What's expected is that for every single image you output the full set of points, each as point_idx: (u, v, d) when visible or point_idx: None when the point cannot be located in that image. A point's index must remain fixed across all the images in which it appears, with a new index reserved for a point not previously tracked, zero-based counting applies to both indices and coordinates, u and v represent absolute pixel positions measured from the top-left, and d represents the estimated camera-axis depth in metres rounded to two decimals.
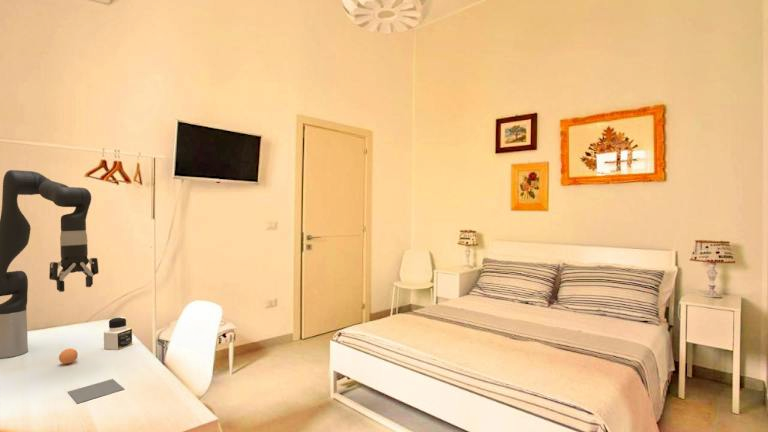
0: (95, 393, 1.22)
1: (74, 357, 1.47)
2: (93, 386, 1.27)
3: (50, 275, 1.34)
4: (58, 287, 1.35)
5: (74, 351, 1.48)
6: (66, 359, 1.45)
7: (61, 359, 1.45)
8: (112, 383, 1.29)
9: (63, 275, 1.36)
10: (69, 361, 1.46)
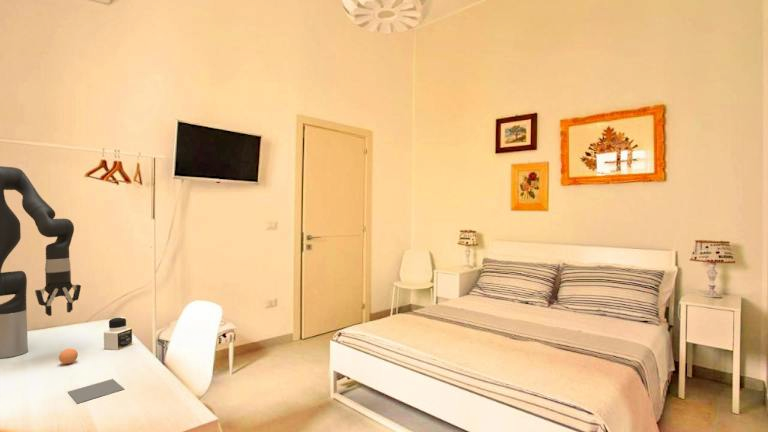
0: (95, 393, 1.22)
1: (74, 357, 1.47)
2: (93, 386, 1.27)
3: None
4: None
5: (74, 351, 1.48)
6: (66, 359, 1.45)
7: (61, 359, 1.45)
8: (112, 383, 1.29)
9: None
10: (69, 361, 1.46)
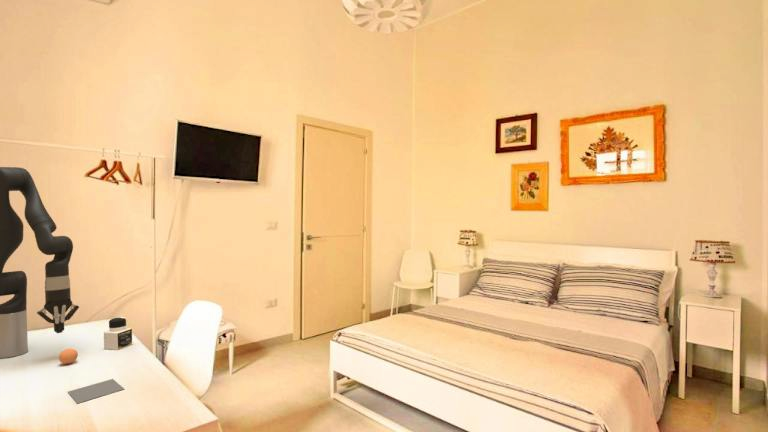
0: (95, 393, 1.22)
1: (74, 357, 1.47)
2: (93, 386, 1.27)
3: None
4: None
5: (74, 351, 1.48)
6: (66, 359, 1.45)
7: (61, 359, 1.45)
8: (112, 383, 1.29)
9: None
10: (69, 361, 1.46)
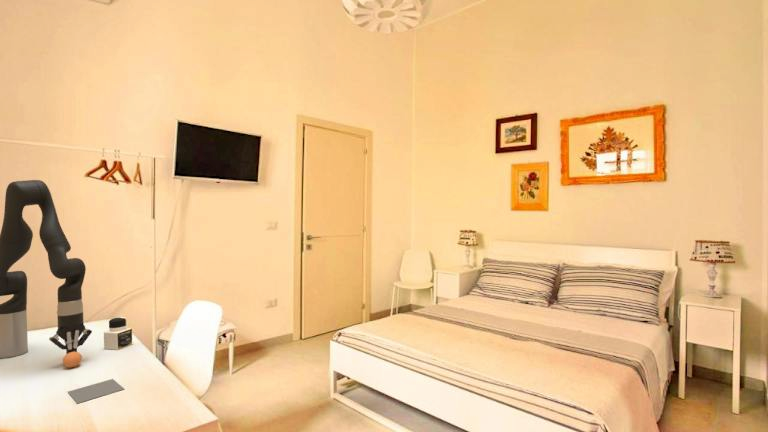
0: (95, 393, 1.22)
1: None
2: (93, 386, 1.27)
3: None
4: None
5: (78, 363, 1.44)
6: None
7: (64, 364, 1.43)
8: (112, 383, 1.29)
9: None
10: None
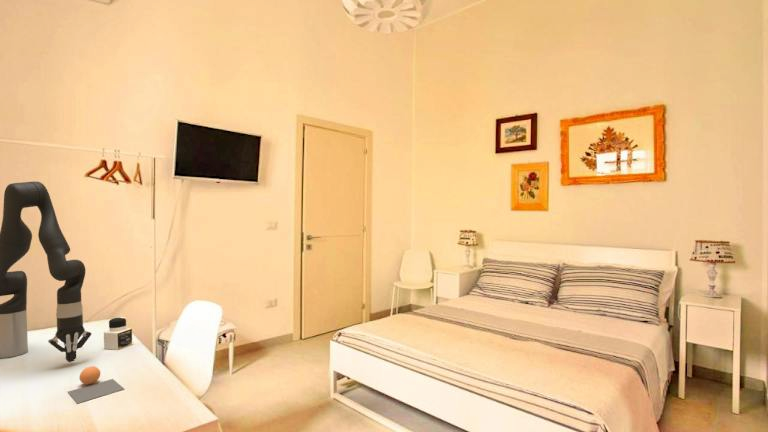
0: (95, 393, 1.22)
1: None
2: (93, 386, 1.27)
3: None
4: None
5: None
6: None
7: (80, 374, 1.28)
8: (112, 383, 1.29)
9: None
10: (88, 367, 1.30)
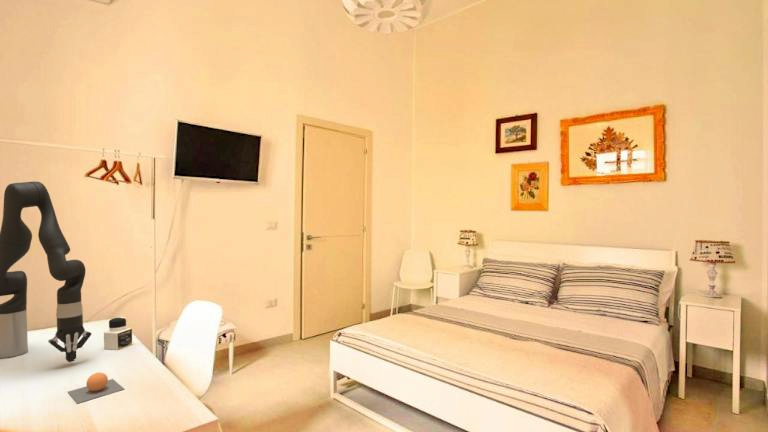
0: (95, 393, 1.22)
1: (104, 385, 1.24)
2: None
3: None
4: None
5: (104, 378, 1.24)
6: (95, 388, 1.22)
7: (89, 387, 1.22)
8: (112, 383, 1.29)
9: None
10: (98, 390, 1.23)
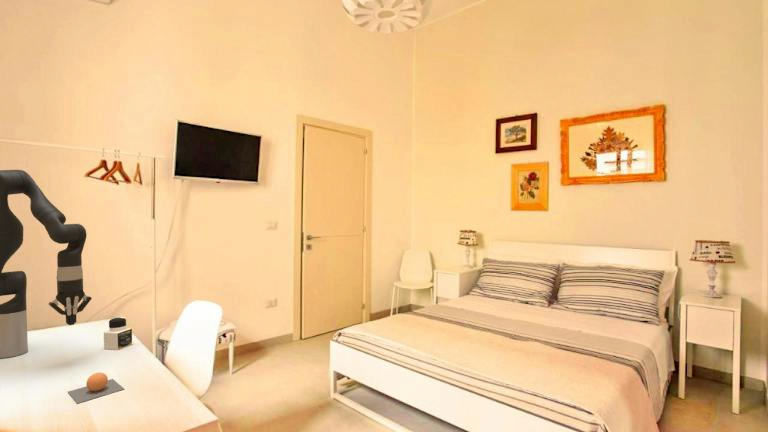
0: (95, 393, 1.22)
1: (104, 385, 1.24)
2: None
3: None
4: None
5: (104, 378, 1.24)
6: (95, 388, 1.22)
7: (89, 387, 1.22)
8: (112, 383, 1.29)
9: None
10: (98, 390, 1.23)
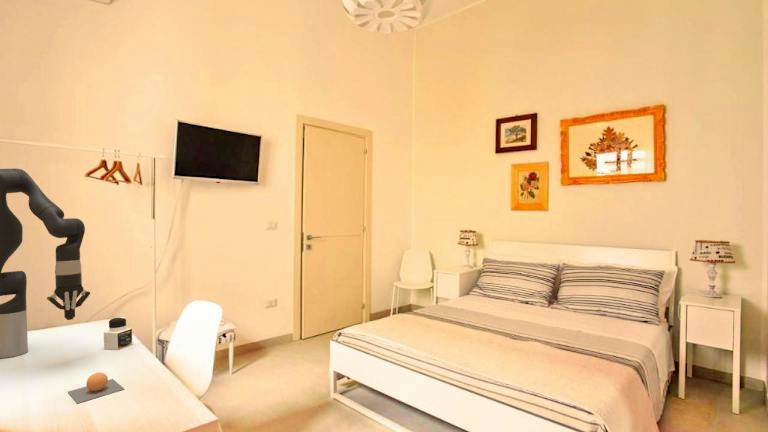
0: (95, 393, 1.22)
1: (104, 385, 1.24)
2: None
3: None
4: None
5: (104, 378, 1.24)
6: (95, 388, 1.22)
7: (89, 387, 1.22)
8: (112, 383, 1.29)
9: None
10: (98, 390, 1.23)
